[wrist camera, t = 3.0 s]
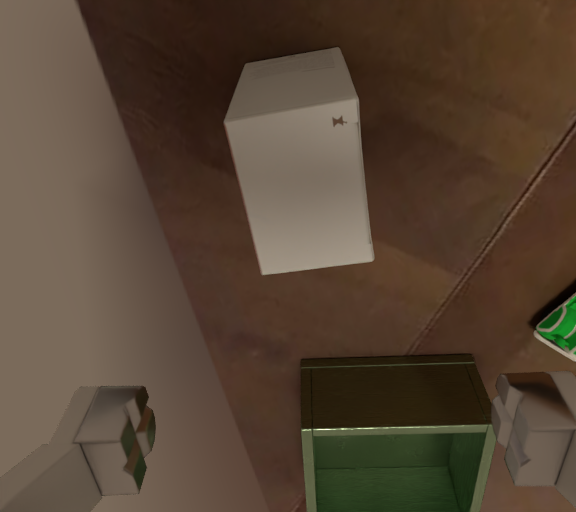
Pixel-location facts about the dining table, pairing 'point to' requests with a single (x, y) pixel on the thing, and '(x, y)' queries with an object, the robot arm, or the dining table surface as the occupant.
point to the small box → (300, 162)
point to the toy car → (559, 328)
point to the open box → (395, 434)
